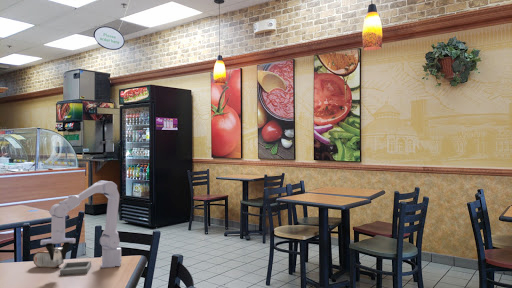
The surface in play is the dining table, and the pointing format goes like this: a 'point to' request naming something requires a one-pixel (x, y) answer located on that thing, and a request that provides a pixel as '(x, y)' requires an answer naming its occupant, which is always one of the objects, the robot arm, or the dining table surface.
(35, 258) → the tin
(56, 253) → the handled mug
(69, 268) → the parts tray
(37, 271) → the dining table surface
